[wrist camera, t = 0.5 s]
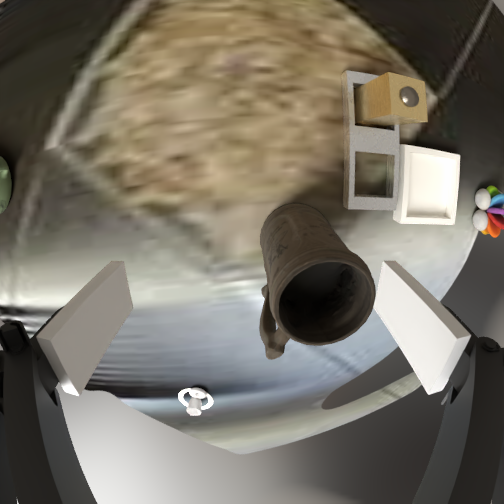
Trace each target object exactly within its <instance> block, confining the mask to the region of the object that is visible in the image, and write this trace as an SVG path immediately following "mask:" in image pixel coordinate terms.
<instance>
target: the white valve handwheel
mask: <svg viewBox="0 0 504 504" xmlns="http://www.w3.org/2000/svg"><path fill="white" fill-rule="evenodd" d="M186 392H189V393H190V395H191V396H192V398H191V399H190V401H189V404H188V403H186V402H185V401H184V399H183V395H184V394H185V393H186ZM205 397H207V398H208V400H209V402H208V404H207V405H205V406H202V402H201V399H202V398H205ZM178 398H179V400H180V402H181V403H182V404H184V405H185V406H187V412H188V413H189V414H190V415H195V416H197V415H200V414H201V410H202V409H207V408H209V407H211V406H212V405H213V398H212V397H211V396H210V395H209V394H208V393H207V392H205V391H204V390H203V389H201V388H188V389H184V390H182V391H180V392H179V394H178Z"/></svg>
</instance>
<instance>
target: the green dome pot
mask: <svg viewBox="0 0 504 504" xmlns="http://www.w3.org/2000/svg"><path fill="white" fill-rule="evenodd" d="M11 185H12V182H11V174H10V171H9V167H8V165H7V162H6V161H5V160H4V159H3V158H2V157H0V214H1V213H2V212H3V211H4V210H5V209H6V207H7V206H8V203H9V200H10V196H11Z"/></svg>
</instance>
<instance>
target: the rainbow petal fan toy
mask: <svg viewBox="0 0 504 504" xmlns="http://www.w3.org/2000/svg"><path fill="white" fill-rule="evenodd" d="M475 202H476V205H477V206H478V207H479V208H480V209H479V210H477V211H476V212H475V213H474V215H473V219H472V220H473V225H474V226H475V228H476V229H477V230H479V231H481V232H482V233H483V234H488V233H490V235H491V236H492V237H494V238H495V237H498V235H499V234H500V229H504V218H503V216H502V215H501V214H504V209H503V208H504V194H503V193H502V192H501V191H499V190H497V188H496V187H494V186H489V187H487V189H484V188H482V189H479V190H478V191H477V192H476V195H475ZM486 209H487V212H485V211H484V210H486Z"/></svg>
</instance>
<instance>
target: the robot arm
mask: <svg viewBox="0 0 504 504" xmlns="http://www.w3.org/2000/svg"><path fill="white" fill-rule="evenodd" d="M373 308H374V309H375V310H376V312H377V313H378V315H379V316H380V318H381V319H382V321H383V322H384V324H385V325H386V327H387V328H388V330H389V331H390V333H391V335H392V336H393V338H394V339H395V341H396V342H397V344H398V345H399V347H400V349H401V350H402V352H403V353H404V355H405V357H406V358H407V360H408V361H409V363H410V365H411V366H412V368H413V370H414V371H415V373H416V375H417V376H418V378H419V380H420V381H421V383H422V385H423V387H424V388H425V390H426V392H427V393H428V395H429V394H432V393H435V392H438V391H441V390H443V388H444V387H445V385H446V383H447V381H448V380H450V382H451V383H452V386H451V388H450V390H449V391H448V393H447V395H446V396H445V398H444V399H443V401H442V403H441V404H444V402H445V401H446V400H447V403H446V407H445V411H444V415H443V420H442V423H441V427H440V431H439V434H438V438H437V441H436V444H435V447H434V450H433V453H432V456H431V459H430V462H429V464H428V467H427V470H426V472H425V475H424V477H423V480H422V482H421V485H420V487H419V489H418V491H417V494H416V496H415V498H414V500H413V502H412V504H491V500H492V504H504V348H501V347H500V346H499V344H498V343H497V342H495V341H494V340H493V339H491V338H488V337H479V338H478V337H477V336H476V335H475V334H474V333H473V332H472V331H471V330H470V329H469V328H468V327H467V326H466V325H465V324H464V323H463V322H461V319H459V317H458V316H456V314H454V312H453V311H452V310H451V309H450V308H448V307H446V306H445V305H443V304H441V303H440V302H439V301H438V300H437V299H436V298H435V297H434V296H433V295H432V294H431V293H430V292H429V291H428V290H427V289H425V288H424V287H423V286H422V285H421V284H420V283H419V282H418V281H417V280H416V279H415V278H414V277H413V276H412V275H411V274H409V273H408V272H407V271H406V270H405V269H404V268H403V267H402V266H401V265H399V264H398V263H397V262H396V261H383V263H382V269H381V274H380V279H379V284H378V289H377V293H376V298H375V302H374V306H373ZM132 309H133V304H132V299H131V295H130V290H129V285H128V281H127V276H126V270H125V265H124V261H111V262H110V263H109V264H108V265H107V266H106V267H104V268H103V269H102V270H101V271H100V272H99V273H98V274H97V275H96V276H95V277H94V278H93V279H92V280H91V281H90V282H88V283H87V284H86V285H85V286H84V287H83V288H82V289H81V290H80V291H79V292H78V293H77V294H76V295H75V296H74V297H73V298H72V299H71V300H70V301H69V302H68V303H67V304H66V305H65V306H64V307H62V308H60V309H59V310H57V311H56V312H55V313H54V314H53V315H52V316H51V318H49V319H48V320H47V321H46V324H44V325H43V326H42V327H41V328H40V329H39V330H38V331H37V332H36V333H35V334H34V336H33V337H32V338H31V339H29V337H28V335H27V332H26V330H25V328H24V325H23V323H22V322H20V321H16V320H15V321H10V322H8V323H5V324H4V325H3V326H1V327H0V344H1V346H2V347H3V350H0V504H17V500H18V503H19V504H97V502H96V500H95V498H94V496H93V494H92V492H91V489H90V487H89V485H88V483H87V481H86V478H85V476H84V474H83V471H82V469H81V466H80V463H79V461H78V458H77V455H76V453H75V450H74V447H73V444H72V441H71V438H70V435H69V432H68V428H67V424H66V421H65V417H64V413H63V409H62V405H61V401H60V397H59V393H58V391H57V389H56V388H55V387H56V386H57V384H58V382H60V384H61V386H62V388H63V389H64V391H65V392H67V393H70V394H73V395H77V396H80V395H81V393H82V391H83V389H84V388H85V386H86V384H87V382H88V381H89V379H90V377H91V375H92V374H93V372H94V370H95V369H96V367H97V365H98V363H99V362H100V360H101V358H102V357H103V355H104V353H105V352H106V350H107V349H108V347H109V345H110V344H111V342H112V340H113V339H114V337H115V336H116V334H117V332H118V331H119V329H120V328H121V326H122V325H123V323H124V322H125V320H126V318H127V317H128V315H129V314H130V312H131V311H132Z"/></svg>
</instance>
